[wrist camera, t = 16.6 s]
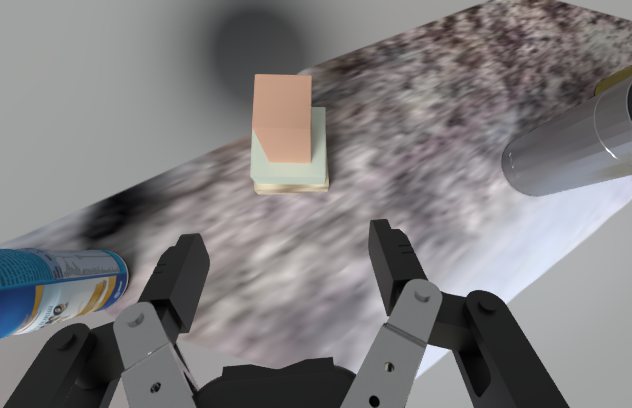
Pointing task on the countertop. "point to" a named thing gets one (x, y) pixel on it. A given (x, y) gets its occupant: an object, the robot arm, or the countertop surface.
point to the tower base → (293, 185)
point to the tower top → (293, 171)
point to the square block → (283, 117)
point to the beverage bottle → (56, 286)
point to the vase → (613, 80)
